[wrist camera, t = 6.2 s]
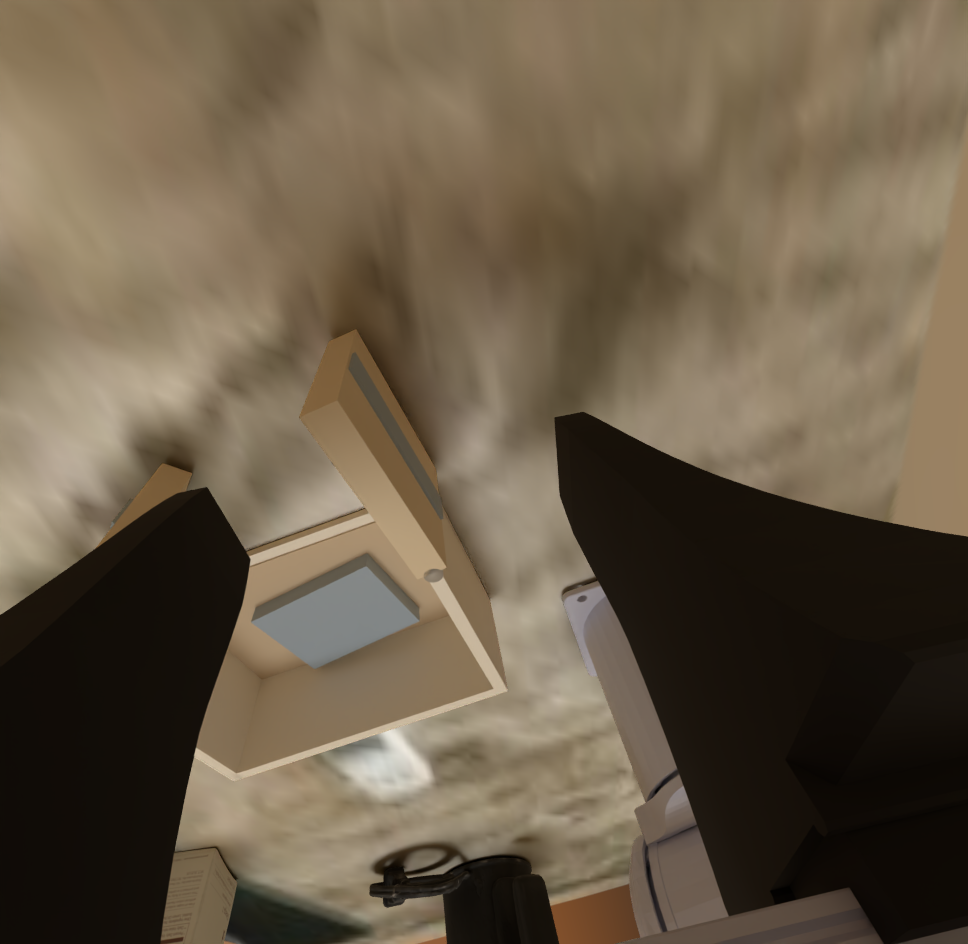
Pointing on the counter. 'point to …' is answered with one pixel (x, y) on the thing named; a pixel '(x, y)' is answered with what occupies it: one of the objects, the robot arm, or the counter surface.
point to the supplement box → (198, 899)
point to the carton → (347, 656)
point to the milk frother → (481, 901)
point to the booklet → (337, 612)
